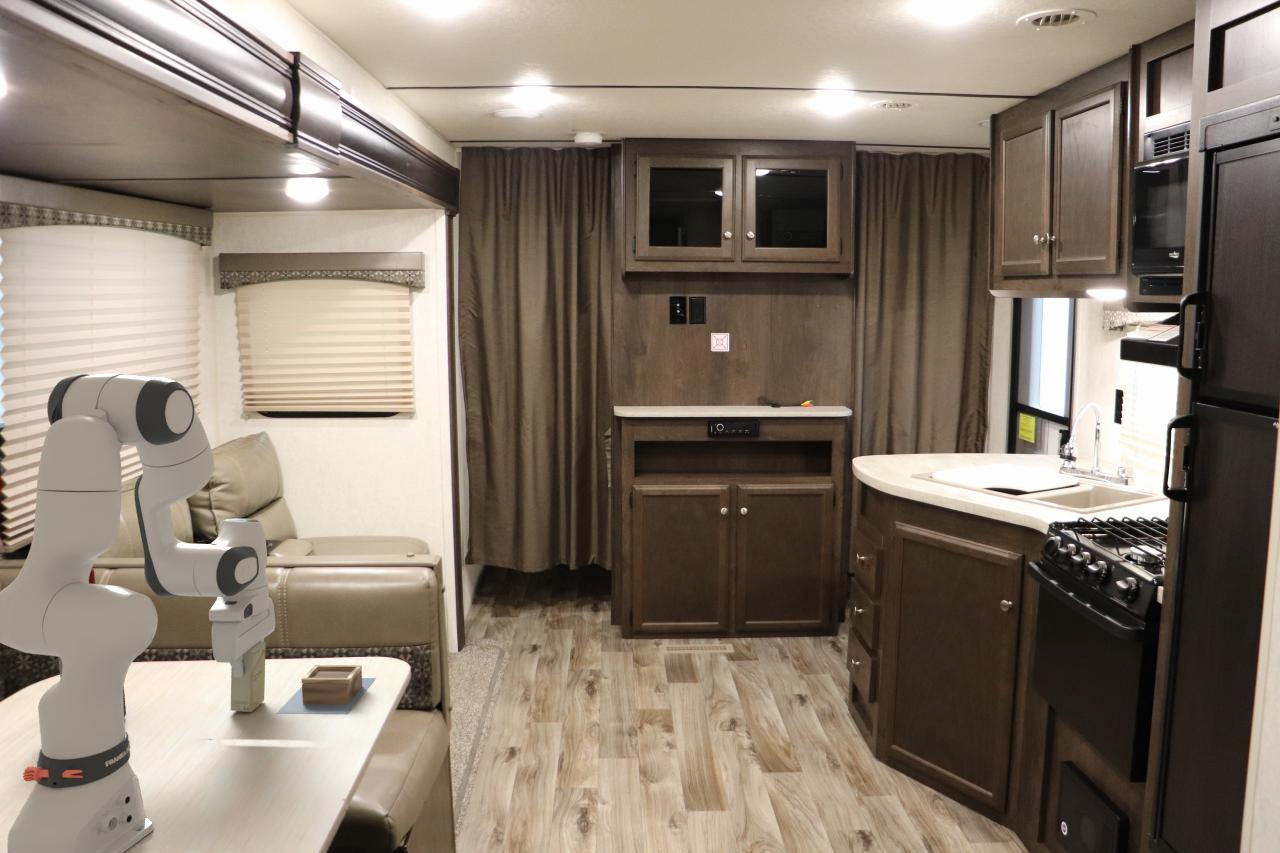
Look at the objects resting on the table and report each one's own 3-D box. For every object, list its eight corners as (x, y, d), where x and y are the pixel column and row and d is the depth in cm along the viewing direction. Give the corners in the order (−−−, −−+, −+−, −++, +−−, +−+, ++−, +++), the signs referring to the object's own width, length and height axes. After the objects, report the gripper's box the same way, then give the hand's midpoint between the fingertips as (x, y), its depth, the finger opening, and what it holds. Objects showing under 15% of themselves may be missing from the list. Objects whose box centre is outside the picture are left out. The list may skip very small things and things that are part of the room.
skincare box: (251, 713, 193) (253, 652, 191) (229, 711, 193) (230, 650, 191) (265, 700, 199) (267, 641, 197) (243, 698, 199) (244, 639, 197)
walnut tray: (349, 704, 197) (348, 681, 196) (301, 703, 198) (300, 680, 197) (363, 686, 206) (362, 664, 205) (317, 685, 206) (316, 663, 206)
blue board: (348, 718, 193) (347, 714, 193) (276, 718, 193) (276, 713, 193) (376, 682, 211) (376, 678, 210) (310, 681, 211) (310, 677, 211)
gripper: (251, 585, 204) (254, 651, 205) (203, 615, 183) (207, 688, 185) (281, 585, 203) (284, 651, 205) (237, 615, 183) (241, 688, 185)
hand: (247, 669), depth 195 cm, fingers open, 6 cm apart
